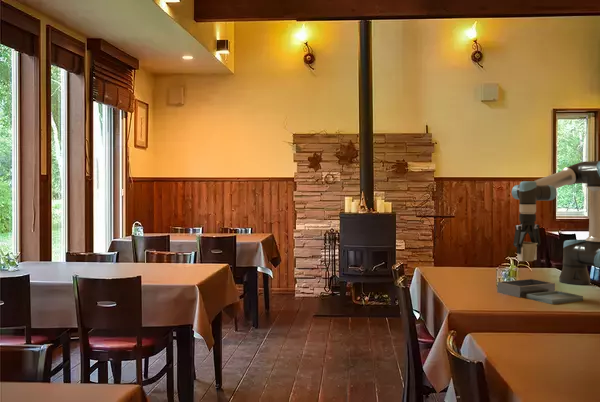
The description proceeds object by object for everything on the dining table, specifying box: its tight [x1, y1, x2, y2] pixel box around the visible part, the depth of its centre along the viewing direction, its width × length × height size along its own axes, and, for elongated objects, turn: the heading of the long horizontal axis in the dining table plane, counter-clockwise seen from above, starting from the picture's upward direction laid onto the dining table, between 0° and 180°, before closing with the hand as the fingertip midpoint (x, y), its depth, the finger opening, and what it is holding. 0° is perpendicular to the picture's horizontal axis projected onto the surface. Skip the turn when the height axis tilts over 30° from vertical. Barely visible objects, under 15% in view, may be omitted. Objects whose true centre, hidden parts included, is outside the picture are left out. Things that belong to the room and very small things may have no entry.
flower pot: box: [519, 241, 538, 262], centre depth 275 cm, size 9×9×9 cm
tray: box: [526, 290, 584, 305], centre depth 261 cm, size 20×14×2 cm
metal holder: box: [496, 278, 556, 298], centre depth 275 cm, size 23×14×5 cm, turn 116°
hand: (526, 260), depth 275 cm, fingers closed on flower pot, 8 cm apart
